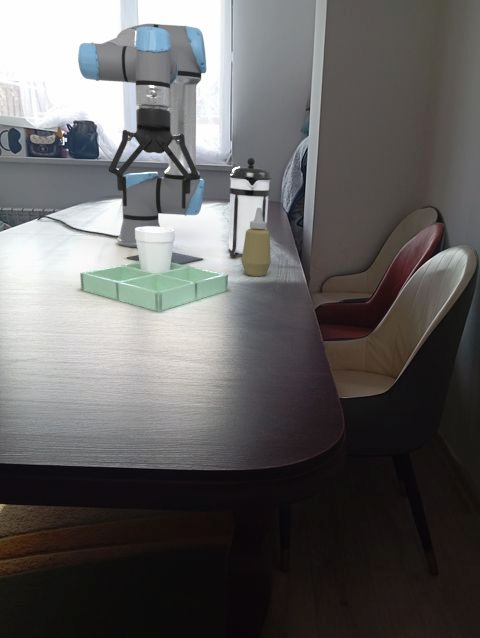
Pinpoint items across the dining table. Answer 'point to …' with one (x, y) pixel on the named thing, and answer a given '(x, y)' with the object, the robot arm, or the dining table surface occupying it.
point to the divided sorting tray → (154, 285)
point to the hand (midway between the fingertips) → (154, 206)
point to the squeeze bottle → (257, 247)
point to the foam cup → (155, 248)
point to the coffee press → (246, 202)
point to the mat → (175, 258)
